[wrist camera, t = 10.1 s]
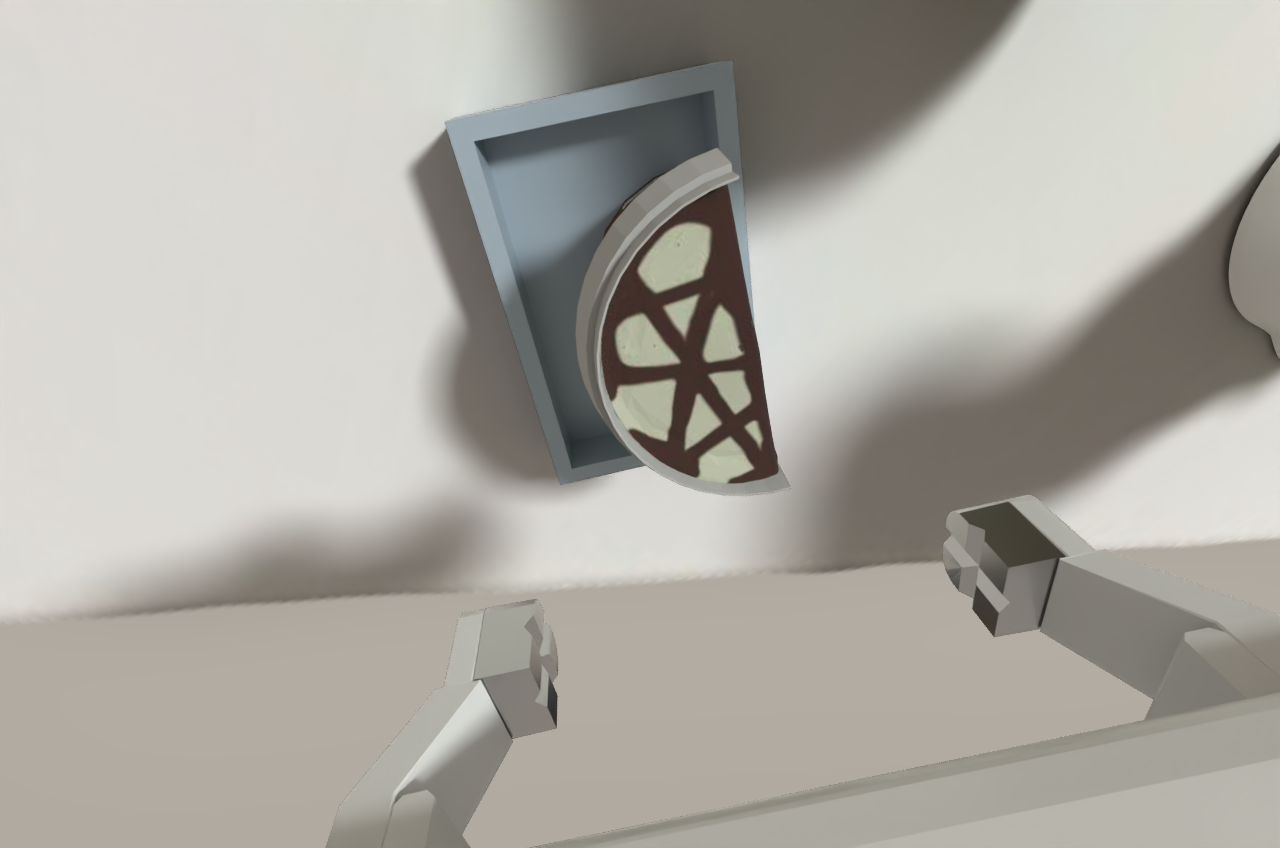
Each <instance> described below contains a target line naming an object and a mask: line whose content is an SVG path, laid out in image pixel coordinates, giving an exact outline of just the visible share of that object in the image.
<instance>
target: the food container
mask: <svg viewBox="0 0 1280 848" xmlns="http://www.w3.org/2000/svg"><path fill="white" fill-rule="evenodd" d="M738 179H739V175H737V174H736V173H734V172H733V171H732V165H731V162H730V161H729V160H728V159H727V158H726V157H725V156H724V155H723V153H722V152H721V151H720V150H719V149H718V148H715V149H713V150H710V151H708V152H706V153H703V154H701V155H698V156H696V157H694V158H691V159H689V160H687V161H685V162H684V163H682V164H680V165H679V166H677V167H676V168H674V169H672V170H670V171H668V172H665V173H663V174H660V175H658V176H656V177H653V178H652V179H651V180H650V181H648V182H647V183H646V184H645V185H643V186H642V187H641V188H640V189H639V190H637V191H636V192H635V193H634V194H632V195H631V196H630V197H629V198H627V199H626V200H625V201H624V203H623V204H622V206H621V207H620V209H619V210H618V212H617V213H616V215H615V216H614V218H613V219H612V221H611V222H610V224H609V225H608V227H607V228H606V230H605V233H604V237H603V240H602V242H601V244H600V245H599V247H598V248H597V250H596V252H595V254H594V257H593V259H592V262H591V264H590V266H589V269H588V271H587V273H586V276H585V278H584V282H583V286H582V290H581V294H580V298H579V302H578V306H577V319H576V332H575V336H576V346H577V357H578V363H579V367H580V370H581V374H582V378H583V381H584V385H585V387H586V389H587V391H588V393H589V395H590V398H591V400H592V402H593V404H594V406H595V408H596V409H597V411H598V412H599V414H600V415H601V417H602V418H603V420H604V421H605V423H606V424H607V426H608V427H609V429H610V430H611V431H612V433H613V434H614V436H615V437H616V439H617V440H618V441H619V442H620V443H621V444H622V445H623V446H624V447H625V448H626V449H627V450H628V451H629V452H630V453H631V454H632V455H633V456H634V457H635V458H636V459H638V460H639V461H640V462H642V463H643V464H645V465H646V466H647V467H649V468H650V469H652V470H653V471H655V472H657V473H658V474H660V475H661V476H663V477H665V478H667V479H669V480H671V481H673V482H675V483H677V484H679V485H682V486H685V487H688V488H691V489H694V490H698V491H701V492H706V493H712V494H718V495H729V496H751V495H760V494H769V493H774V492H778V491H783V490H787V489H791V487H790V485H789V483H788V481H787V479H786V477H785V475H784V474H783V472H782V470H781V468H780V466H779V464H778V462H777V454H776V451H775V448H774V443H773V438H772V432H771V426H770V420H769V414H768V408H767V401H766V395H765V389H764V381H763V374H762V366H761V359H760V351H759V347H758V342H757V337H756V332H755V328H754V323H753V318H752V313H751V308H750V303H749V298H748V292H747V287H746V282H745V277H744V271H743V266H742V260H741V254H740V249H739V243H738V237H737V232H736V226H735V221H734V215H733V210H732V204H731V199H730V194H729V188H728V183H731V182H733V181H735V180H738Z"/></svg>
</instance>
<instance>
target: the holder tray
mask: <svg viewBox="0 0 1280 848" xmlns="http://www.w3.org/2000/svg"><path fill="white" fill-rule="evenodd" d="M445 125H446V129H447V132H448V135H449V138H450V141H451V144H452V147H453V150H454V154H455V157H456V160H457V163H458V166H459V169H460V172H461V176H462V179H463V182H464V185H465V188H466V191H467V194H468V197H469V201H470V204H471V207H472V210H473V213H474V216H475V219H476V223H477V226H478V229H479V232H480V235H481V238H482V241H483V244H484V248H485V251H486V254H487V257H488V260H489V263H490V266H491V270H492V273H493V276H494V279H495V282H496V285H497V288H498V291H499V295H500V298H501V301H502V304H503V307H504V310H505V313H506V316H507V320H508V323H509V326H510V329H511V332H512V335H513V338H514V342H515V345H516V348H517V351H518V354H519V357H520V360H521V363H522V367H523V370H524V373H525V376H526V379H527V382H528V385H529V389H530V392H531V395H532V398H533V401H534V404H535V407H536V410H537V414H538V417H539V420H540V423H541V426H542V429H543V432H544V436H545V439H546V442H547V445H548V448H549V451H550V454H551V457H552V461H553V464H554V467H555V470H556V473H557V476H558V479H559V482H560V485H562V484H567V483H571V482H575V481H580V480H584V479H589V478H593V477H598V476H602V475H606V474H611V473H615V472H620V471H624V470H628V469H633V468H637V467H642V466H646V465H645V464H643V463H642V462H640V461H639V460H638V459H636V458H635V457H634V456H633V455H632V454H631V453H630V452H629V451H628V450H627V449H626V448H625V447H624V446H623V445H622V444H621V443H620V442H619V441H618V440H617V439H616V437H615V436H614V434H613V433H612V431H611V430H610V429H609V427H608V426H607V424H606V423H605V421H604V420H603V418H602V417H601V415H600V414H599V412H598V411H597V409H596V408H595V406H594V404H593V402H592V400H591V398H590V395H589V393H588V391H587V389H586V387H585V385H584V381H583V378H582V374H581V370H580V367H579V363H578V357H577V346H576V336H575V332H576V319H577V306H578V302H579V298H580V294H581V290H582V286H583V282H584V278H585V276H586V273H587V271H588V269H589V266H590V264H591V262H592V259H593V257H594V254H595V252H596V250H597V248H598V247H599V245H600V244H601V242H602V240H603V237H604V233H605V230H606V228H607V227H608V225H609V224H610V222H611V221H612V219H613V218H614V216H615V215H616V213H617V212H618V210H619V209H620V207H621V206H622V204H623V203H624V201H625V200H626V199H627V198H629V197H630V196H631V195H632V194H634V193H635V192H636V191H637V190H639V189H640V188H641V187H642V186H643V185H645V184H646V183H647V182H648V181H650V180H651V179H652V178H653V177H656V176H658V175H660V174H663V173H665V172H668V171H670V170H672V169H674V168H676V167H677V166H679V165H680V164H682V163H684V162H685V161H687V160H689V159H691V158H694V157H696V156H698V155H701V154H703V153H706V152H708V151H710V150H713V149H715V148H718V149H719V150H720V151H721V152H722V153H723V155H724V156H725V157H726V158H727V159H728V160H729V161H730V162H731V165H732V171H733V172H734V173H736V174H737V175H739V179H738V180H735V181H733V182H731V183H728V188H729V194H730V199H731V204H732V210H733V215H734V221H735V226H736V232H737V237H738V243H739V249H740V254H741V260H742V266H743V271H744V277H745V282H746V287H747V292H748V298H749V303H750V308H751V313H752V318H753V323H754V312H753V300H752V288H751V275H750V263H749V251H748V239H747V226H746V214H745V202H744V190H743V178H742V165H741V153H740V141H739V129H738V116H737V104H736V92H735V80H734V67H733V60H730V61H722V62H714V63H709V64H704V65H699V66H695V67H690V68H685V69H681V70H676V71H671V72H667V73H662V74H657V75H653V76H648V77H643V78H639V79H634V80H629V81H625V82H620V83H615V84H610V85H606V86H601V87H596V88H592V89H587V90H582V91H578V92H573V93H568V94H564V95H559V96H554V97H550V98H545V99H540V100H536V101H531V102H526V103H522V104H517V105H512V106H507V107H503V108H498V109H493V110H489V111H484V112H479V113H475V114H470V115H465V116H461V117H456V118H453V119H451V120H448V121H445ZM754 328H755V324H754Z"/></svg>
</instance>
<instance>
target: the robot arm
mask: <svg viewBox="0 0 1280 848" xmlns="http://www.w3.org/2000/svg"><path fill="white" fill-rule="evenodd" d="M1229 287H1230V292H1231V296H1232V299H1233V302H1234V304H1235V306H1236V308H1237V309H1238V311H1239V312H1240V313H1241V315H1242V316H1243V317H1244V318H1245V319H1246V320H1248V321H1249V322H1251V323H1252V324H1254V325H1256V326H1258V327H1259V328H1261V329H1263V330H1265V331H1266V332H1267V333H1268V334H1269V335H1270V336H1271V338H1272V342H1273V345H1274V349H1275V351H1276V354H1277V356H1278V358H1279V359H1280V155H1279V157H1278V158H1277V160H1276V161H1275V162H1274V164H1273V165H1272V166H1271V168H1270V169H1269V171H1268V172H1267V174H1266V175H1265V177H1264V178H1263V180H1262V182H1261V183H1260V185H1259V186H1258V188H1257V190H1256V192H1255V193H1254V195H1253V197H1252V199H1251V201H1250V203H1249V205H1248V207H1247V209H1246V211H1245V213H1244V215H1243V218H1242V220H1241V222H1240V225H1239V228H1238V230H1237V233H1236V236H1235V239H1234V243H1233V247H1232V251H1231V256H1230V263H1229ZM946 528H947V529H948V531H949V532H950V533H951V536H950V537H949V538H948V539H947V540H946V541H945V543H944V544H943V555H942V557H943V561H944V565H945V569H946V572H947V574H948V576H949V578H950V579H951V581H952V583H953V584H954V585H955V587H956V588H957V589H958V591H960V592H962V593H964V594H966V595H968V596H970V597H972V598H973V608H972V609H973V611H974V612H975V613H976V614H977V616H978V617H979V618H980V619H981V621H982V622H983V623H984V625H985V626H986V627H987V629H988V630H989V631H990V633H991V634H992V635H993V636H994V637H998V636H1003V635H1009V634H1015V633H1021V632H1026V631H1031V630H1037V629H1040V632H1042V633H1044V634H1045V635H1047V636H1049V637H1050V638H1052V639H1053V640H1055V641H1057V642H1058V643H1060V644H1062V645H1064V646H1065V647H1067V648H1069V649H1070V650H1072V651H1074V652H1075V653H1077V654H1079V655H1080V656H1082V657H1083V658H1085V659H1087V660H1088V661H1090V662H1092V663H1094V664H1095V665H1097V666H1098V667H1100V668H1102V669H1103V670H1105V671H1107V672H1108V673H1110V674H1112V675H1113V676H1115V677H1117V678H1119V679H1120V680H1122V681H1124V682H1125V683H1127V684H1129V685H1130V686H1132V687H1133V688H1135V689H1137V690H1138V691H1140V692H1142V693H1143V694H1145V695H1147V696H1148V697H1150V698H1152V699H1153V702H1152V704H1151V707H1150V709H1149V711H1148V713H1147V715H1146V717H1145V719H1144V720H1143V721H1138V722H1133V723H1128V724H1124V725H1118V726H1113V727H1109V728H1104V729H1099V730H1094V731H1089V732H1085V733H1080V734H1075V735H1070V736H1065V737H1060V738H1056V739H1051V740H1046V741H1041V742H1036V743H1032V744H1027V745H1022V746H1017V747H1012V748H1008V749H1003V750H998V751H993V752H988V753H983V754H979V755H974V756H969V757H964V758H959V759H954V760H950V761H945V762H940V763H936V764H931V765H926V766H921V767H916V768H911V769H906V770H902V771H897V772H892V773H887V774H882V775H877V776H872V777H868V778H863V779H858V780H853V781H849V782H844V783H839V784H834V785H829V786H825V787H820V788H815V789H810V790H805V791H801V792H796V793H791V794H786V795H781V796H777V797H772V798H767V799H762V800H757V801H753V802H748V803H743V804H738V805H734V806H729V807H724V808H720V809H714V810H710V811H705V812H700V813H695V814H690V815H685V816H680V817H676V818H671V819H666V820H661V821H657V822H651V823H647V824H642V825H638V826H632V827H628V828H623V829H618V830H613V831H608V832H603V833H599V834H594V835H589V836H584V837H579V838H575V839H569V840H565V841H560V842H555V843H550V844H545V845H540V846H536V847H531V848H1280V616H1279V615H1277V614H1276V613H1275V612H1272V611H1270V610H1267V609H1264V608H1262V607H1259V606H1256V605H1254V604H1251V603H1248V602H1245V601H1243V600H1240V599H1237V598H1234V597H1232V596H1229V595H1227V594H1224V593H1221V592H1219V591H1216V590H1213V589H1210V588H1208V587H1205V586H1202V585H1200V584H1197V583H1194V582H1192V581H1189V580H1186V579H1183V578H1181V577H1178V576H1175V575H1173V574H1170V573H1167V572H1164V571H1162V570H1159V569H1156V568H1154V567H1151V566H1148V565H1146V564H1143V563H1140V562H1138V561H1135V560H1132V559H1129V558H1127V557H1124V556H1121V555H1118V554H1116V553H1113V552H1111V551H1108V550H1105V549H1104V550H1098V551H1096V550H1095V549H1094V548H1093V547H1092V546H1091V545H1089V544H1088V543H1087V542H1086V541H1085V540H1084V539H1083V538H1081V537H1080V536H1079V535H1078V534H1077V533H1076V532H1075V531H1074V530H1072V529H1071V528H1070V527H1069V526H1068V525H1067V524H1066V523H1065V522H1063V521H1062V520H1061V519H1060V518H1059V517H1058V516H1057V515H1055V514H1054V513H1053V512H1052V511H1051V510H1050V509H1049V508H1048V507H1046V506H1045V505H1044V504H1043V503H1042V502H1041V501H1040V500H1038V499H1037V498H1036V497H1034V496H1031V495H1029V494H1028V495H1023V496H1019V497H1014V498H1010V499H1005V500H1002V501H996V502H991V503H986V504H982V505H977V506H973V507H968V508H964V509H959V510H955V511H951V512H950V513H949V515H948V516H947V520H946ZM557 675H558V657H557V648H556V643H555V639H554V635H553V632H552V629H551V627H550V626H549V625H547V624H546V623H544V609H543V607H542V604H541V602H540V600H539V599H532V600H526V601H521V602H515V603H510V604H505V605H499V606H494V607H488V608H485V609H480V610H475V611H469V612H464V613H462V614H461V616H460V617H459V619H458V621H457V626H456V630H455V635H454V640H453V644H452V649H451V654H450V658H449V663H448V668H447V673H446V677H445V682H444V687H442V688H438V689H435V691H434V692H433V693H432V694H431V695H430V697H429V698H428V699H427V700H426V702H425V703H424V704H423V705H422V706H421V707H420V709H419V710H418V711H417V712H416V714H415V715H414V716H413V717H412V718H411V720H410V721H409V722H408V723H407V724H406V726H405V727H404V728H403V729H402V731H401V732H400V733H399V734H398V735H397V736H396V738H395V739H394V740H393V741H392V743H391V744H390V745H389V746H388V748H387V749H386V750H385V751H384V752H383V754H382V755H381V756H380V757H379V758H378V760H377V761H376V762H375V763H374V764H373V766H372V767H371V768H370V769H369V770H368V772H367V773H366V774H365V775H364V776H363V778H362V779H361V780H360V781H359V782H358V784H357V785H356V786H355V787H354V789H353V790H352V791H351V792H350V793H349V795H348V796H347V797H346V798H345V799H344V801H343V802H342V803H341V804H340V806H339V808H338V811H337V814H336V818H335V821H334V824H333V827H332V830H331V833H330V836H329V839H328V842H327V845H326V848H470V846H469V845H468V843H467V842H466V841H465V839H464V838H463V836H462V833H463V832H464V830H465V828H466V826H467V824H468V823H469V821H470V819H471V817H472V815H473V813H474V812H475V809H476V808H477V806H478V804H479V802H480V801H481V799H482V797H483V795H484V793H485V792H486V790H487V788H488V786H489V784H490V782H491V781H492V779H493V777H494V775H495V773H496V772H497V770H498V768H499V766H500V764H501V763H502V761H503V759H504V757H505V755H506V753H507V752H508V750H509V748H510V746H511V744H512V743H513V741H512V739H514V738H518V737H522V736H526V735H531V734H535V733H539V732H543V731H547V730H552V729H556V728H557V693H556V691H555V688H554V686H553V684H552V682H553V681H554V679H555V678H556V677H557Z"/></svg>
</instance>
